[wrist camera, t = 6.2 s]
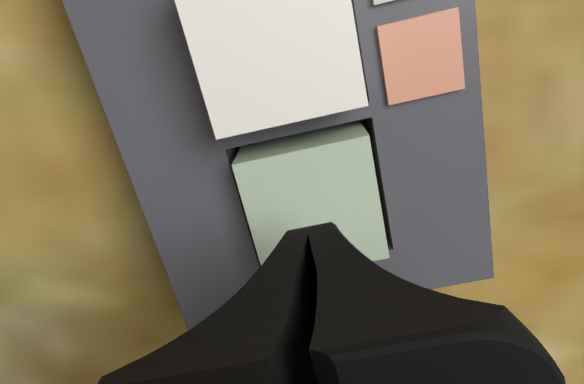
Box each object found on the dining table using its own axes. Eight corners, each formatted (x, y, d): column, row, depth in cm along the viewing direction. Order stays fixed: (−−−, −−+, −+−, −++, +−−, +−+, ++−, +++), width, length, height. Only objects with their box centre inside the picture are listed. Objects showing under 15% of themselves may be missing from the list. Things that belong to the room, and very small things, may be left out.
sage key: (373, 215, 18) (389, 257, 15) (271, 236, 18) (265, 281, 15) (355, 113, 16) (369, 135, 13) (244, 138, 17) (231, 165, 14)
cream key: (353, 88, 15) (368, 105, 12) (233, 115, 16) (216, 139, 12) (329, -50, 14) (339, -74, 10) (196, -16, 14) (166, -28, 11)
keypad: (464, 240, 19) (496, 280, 16) (204, 289, 20) (188, 336, 17) (406, -387, 12) (442, -525, 9) (11, -258, 13) (-75, -342, 10)
